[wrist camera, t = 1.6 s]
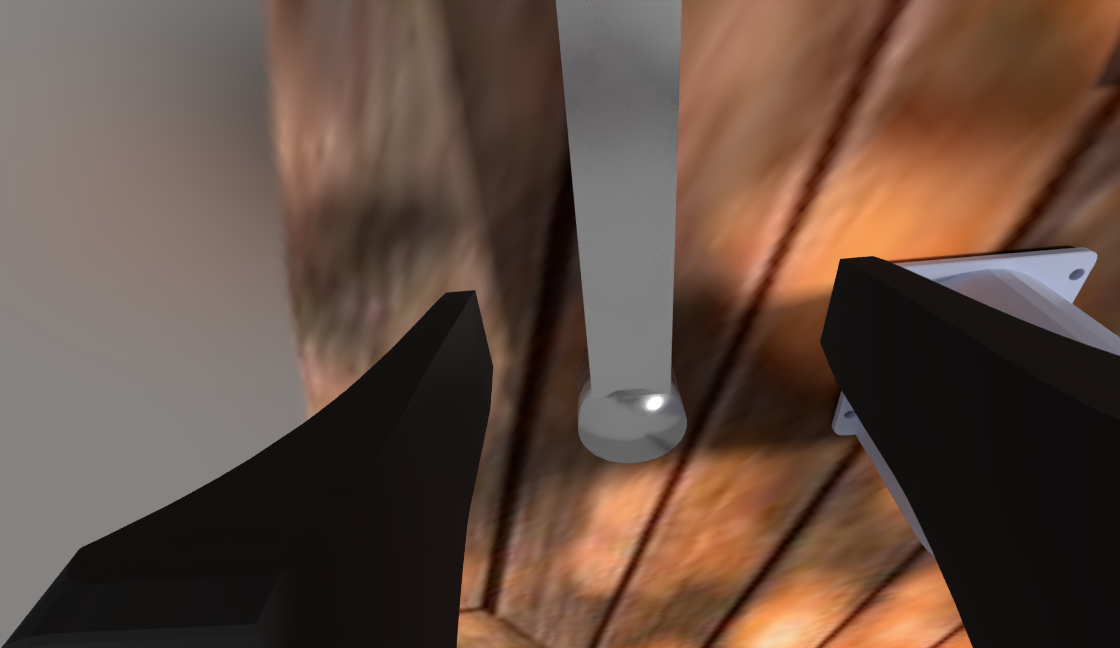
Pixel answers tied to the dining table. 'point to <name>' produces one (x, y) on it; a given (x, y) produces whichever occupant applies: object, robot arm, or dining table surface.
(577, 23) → the grey bar
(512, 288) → the dining table surface
